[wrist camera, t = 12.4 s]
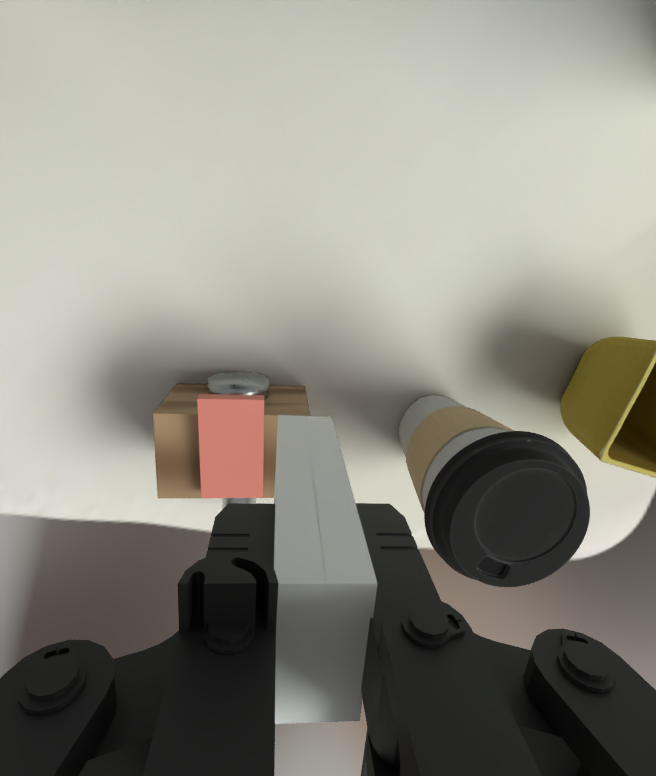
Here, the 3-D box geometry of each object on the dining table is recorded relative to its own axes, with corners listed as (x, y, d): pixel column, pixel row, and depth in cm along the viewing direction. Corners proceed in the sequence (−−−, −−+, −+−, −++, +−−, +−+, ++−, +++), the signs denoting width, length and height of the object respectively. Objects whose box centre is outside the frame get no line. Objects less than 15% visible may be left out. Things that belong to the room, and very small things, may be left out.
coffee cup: (378, 480, 40) (432, 607, 26) (377, 376, 37) (438, 452, 23) (483, 472, 41) (592, 591, 27) (490, 369, 38) (616, 439, 24)
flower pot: (614, 443, 42) (701, 493, 33) (530, 416, 40) (599, 461, 31) (662, 351, 39) (769, 379, 31) (576, 319, 38) (662, 339, 29)
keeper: (199, 394, 29) (197, 398, 28) (264, 395, 29) (263, 399, 28) (203, 491, 31) (201, 498, 30) (263, 491, 32) (262, 497, 31)
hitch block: (176, 383, 36) (152, 413, 29) (304, 386, 37) (310, 415, 30) (179, 454, 38) (157, 498, 31) (302, 455, 39) (306, 497, 32)
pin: (212, 370, 36) (203, 386, 31) (269, 372, 36) (268, 388, 32) (214, 500, 39) (206, 531, 34) (267, 500, 39) (266, 530, 35)
